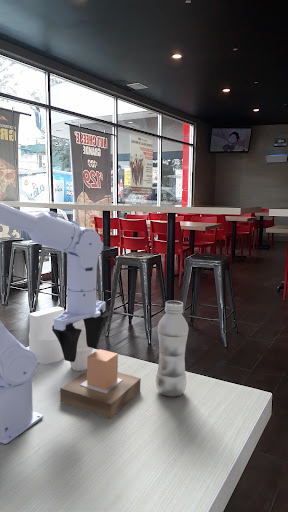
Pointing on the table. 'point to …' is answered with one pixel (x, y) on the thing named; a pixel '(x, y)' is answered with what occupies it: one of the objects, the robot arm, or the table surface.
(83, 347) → the soft serve ice cream cone
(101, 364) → the terracotta cube
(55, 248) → the robot arm
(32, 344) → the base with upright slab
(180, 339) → the plastic bottle
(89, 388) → the walnut pedestal
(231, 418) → the table surface
